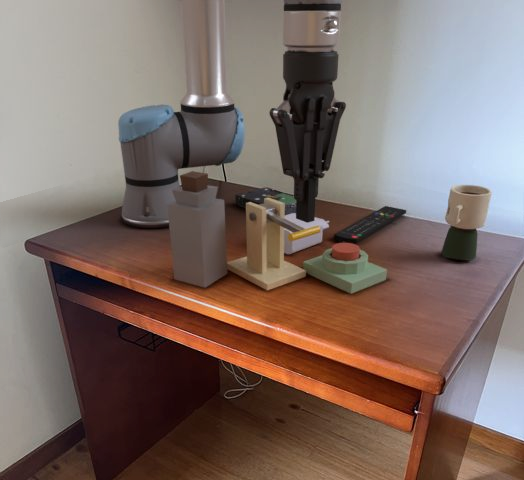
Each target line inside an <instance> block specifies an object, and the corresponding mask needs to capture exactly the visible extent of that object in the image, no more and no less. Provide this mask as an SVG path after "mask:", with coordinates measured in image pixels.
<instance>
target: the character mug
mask: <svg viewBox="0 0 524 480" xmlns="http://www.w3.org/2000/svg"><path fill="white" fill-rule="evenodd" d="M492 193H493V191H492V190H491V189H490V188H487V187H486V186H485V187H484V186H481V185H474V184H458V185H453V186H451V187H450V189H449V193H448V194H449V195H448V199H447V209H446V213H445V216H444V219H445V222H446V223H447V224H448V225H450V227H449V228H448V230H447V233H446V236H445V239H444V241H443V245H442V248H441V255H442V256H443V257H444V258H448V259H453V260H454V261H456V260H459V261H473V260H474V259H476V257H477V251H478V249H477V248H478V236H479V235H478V233H479V232H478V231H477V229H482V228H483V227H484V226H485V225H486V221H487V217H488V211H489V207H490V203H491V198H492Z"/></svg>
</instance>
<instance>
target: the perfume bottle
mask: <svg viewBox="0 0 524 480" xmlns="http://www.w3.org/2000/svg"><path fill="white" fill-rule="evenodd" d="M179 178H180V184H181V185H180V187H179V188H176V189H173V190H172V192H173V195H174V198H175V200H176V201H174V202H172V203H169V204H167V208H168V218H169V227H168V228H169V238H170V246H171V257H172V268H173V278H174V280H176V281H180V282H183V283H186V284H190V285H193V286H198V287H201V288H203V289H204V288H207V287H209V286H210V285H212V284H213V283H215V282H217V281H218V280H219V279H221V278H223V277H225V276H226V275H228V269H227V262H228V256H227V255H228V254H227V232H226V210H225V207H226V206H225V199H221V198H217V193H218V189H219V187H218V186H214V185H209V173H205V172H200V171H195V170H194V171H193V170H192V171H189V172H186V173H183V174H180V175H179Z"/></svg>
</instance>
